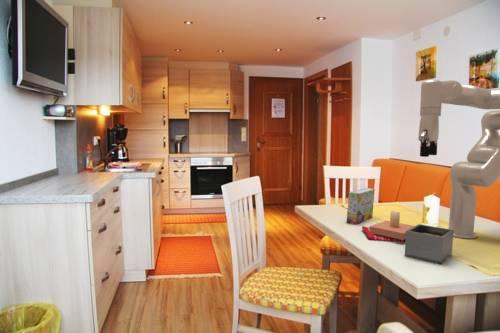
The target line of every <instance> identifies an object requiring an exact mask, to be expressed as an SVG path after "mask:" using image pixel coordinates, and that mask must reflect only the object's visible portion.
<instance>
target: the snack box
mask: <svg viewBox="0 0 500 333" xmlns="http://www.w3.org/2000/svg"><path fill="white" fill-rule="evenodd" d="M374 199H375V189H374V188H371V187H370V188H369V187H363V188H359V189H355V190H352V191H349V192H348V199H347V214H346V223H347V224H351V225H356V226H357V225H359V224H361V223H363V222H366V221H367V220H368V221H369V219H372V218H373V213H374V202H375V200H374Z"/></svg>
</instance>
